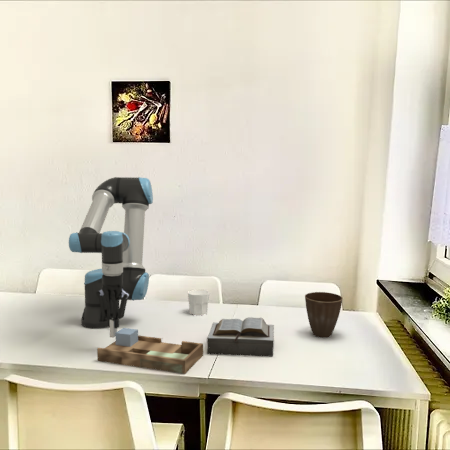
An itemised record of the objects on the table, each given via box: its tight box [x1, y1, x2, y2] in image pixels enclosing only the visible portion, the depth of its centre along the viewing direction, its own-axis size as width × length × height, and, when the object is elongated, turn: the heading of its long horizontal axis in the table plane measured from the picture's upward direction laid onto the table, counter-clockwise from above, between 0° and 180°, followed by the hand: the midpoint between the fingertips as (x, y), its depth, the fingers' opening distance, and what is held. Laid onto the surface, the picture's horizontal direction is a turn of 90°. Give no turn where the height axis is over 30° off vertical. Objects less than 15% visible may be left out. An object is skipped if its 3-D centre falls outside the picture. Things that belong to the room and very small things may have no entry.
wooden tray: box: [96, 334, 204, 375], centre depth 181 cm, size 33×17×4 cm, turn 72°
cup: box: [187, 289, 211, 317], centre depth 235 cm, size 10×10×10 cm
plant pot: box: [304, 291, 344, 339], centre depth 207 cm, size 15×15×16 cm
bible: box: [206, 316, 275, 357], centre depth 194 cm, size 23×27×10 cm
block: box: [115, 327, 139, 347], centre depth 188 cm, size 6×6×4 cm
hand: (113, 336), depth 189 cm, fingers closed
